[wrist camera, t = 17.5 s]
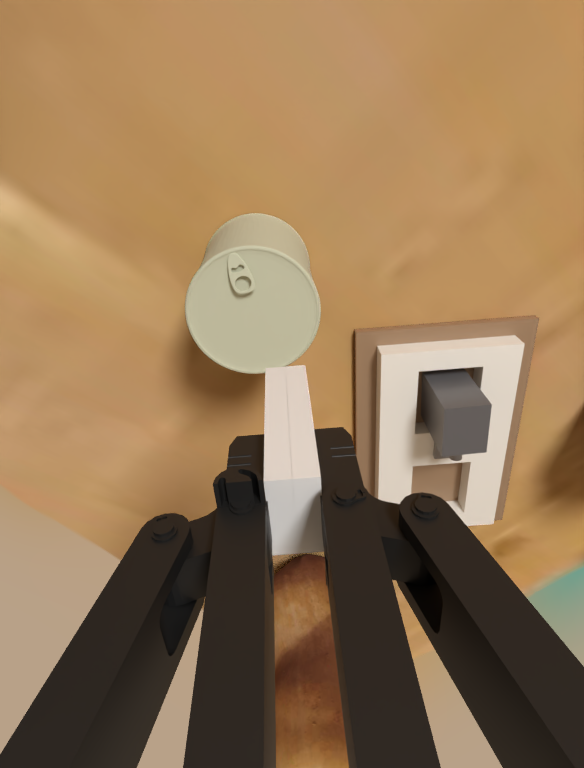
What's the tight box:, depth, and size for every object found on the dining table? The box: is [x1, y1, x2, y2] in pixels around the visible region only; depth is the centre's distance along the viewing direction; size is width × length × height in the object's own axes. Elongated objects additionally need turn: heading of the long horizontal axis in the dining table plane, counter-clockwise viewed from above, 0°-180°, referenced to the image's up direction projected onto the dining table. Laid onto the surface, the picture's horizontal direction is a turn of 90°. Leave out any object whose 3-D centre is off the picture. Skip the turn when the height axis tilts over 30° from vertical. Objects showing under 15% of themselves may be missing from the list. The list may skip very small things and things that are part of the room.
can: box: [185, 213, 321, 374], centre depth 38 cm, size 9×9×12 cm
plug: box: [421, 368, 492, 461], centre depth 46 cm, size 4×7×7 cm, turn 6°
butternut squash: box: [274, 554, 349, 768], centre depth 51 cm, size 14×13×25 cm
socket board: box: [355, 316, 539, 526], centre depth 51 cm, size 17×25×3 cm
